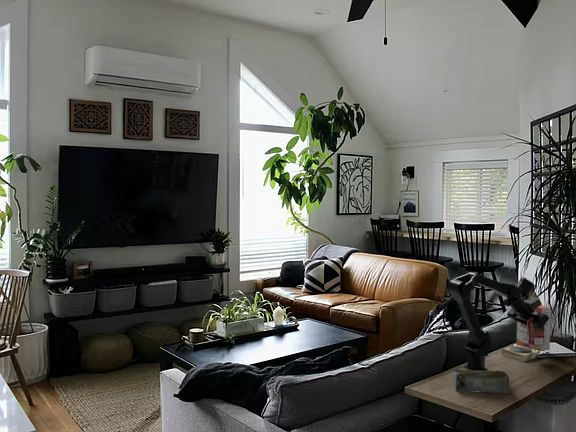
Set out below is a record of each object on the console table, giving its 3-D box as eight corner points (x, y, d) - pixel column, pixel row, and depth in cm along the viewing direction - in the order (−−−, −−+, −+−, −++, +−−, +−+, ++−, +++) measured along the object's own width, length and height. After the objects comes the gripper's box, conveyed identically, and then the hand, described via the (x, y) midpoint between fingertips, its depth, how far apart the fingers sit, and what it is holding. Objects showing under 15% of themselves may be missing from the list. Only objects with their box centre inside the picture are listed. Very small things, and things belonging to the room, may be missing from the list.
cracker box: (515, 346, 260) (517, 301, 259) (525, 344, 263) (526, 300, 261) (539, 355, 248) (541, 308, 246) (549, 353, 250) (551, 306, 248)
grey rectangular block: (452, 384, 213) (452, 367, 213) (504, 386, 211) (505, 369, 210) (455, 391, 205) (456, 374, 205) (510, 395, 203) (511, 377, 202)
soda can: (545, 347, 237) (546, 319, 236) (528, 346, 238) (529, 318, 238) (541, 343, 243) (542, 315, 243) (525, 342, 244) (525, 315, 244)
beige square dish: (523, 361, 239) (523, 355, 239) (501, 354, 248) (501, 348, 248) (539, 357, 244) (539, 351, 244) (517, 350, 254) (518, 344, 254)
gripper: (547, 295, 229) (566, 320, 234) (513, 286, 247) (532, 310, 251) (531, 315, 227) (550, 340, 232) (498, 305, 244) (517, 328, 249)
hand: (537, 329), depth 241 cm, fingers closed on soda can, 6 cm apart
